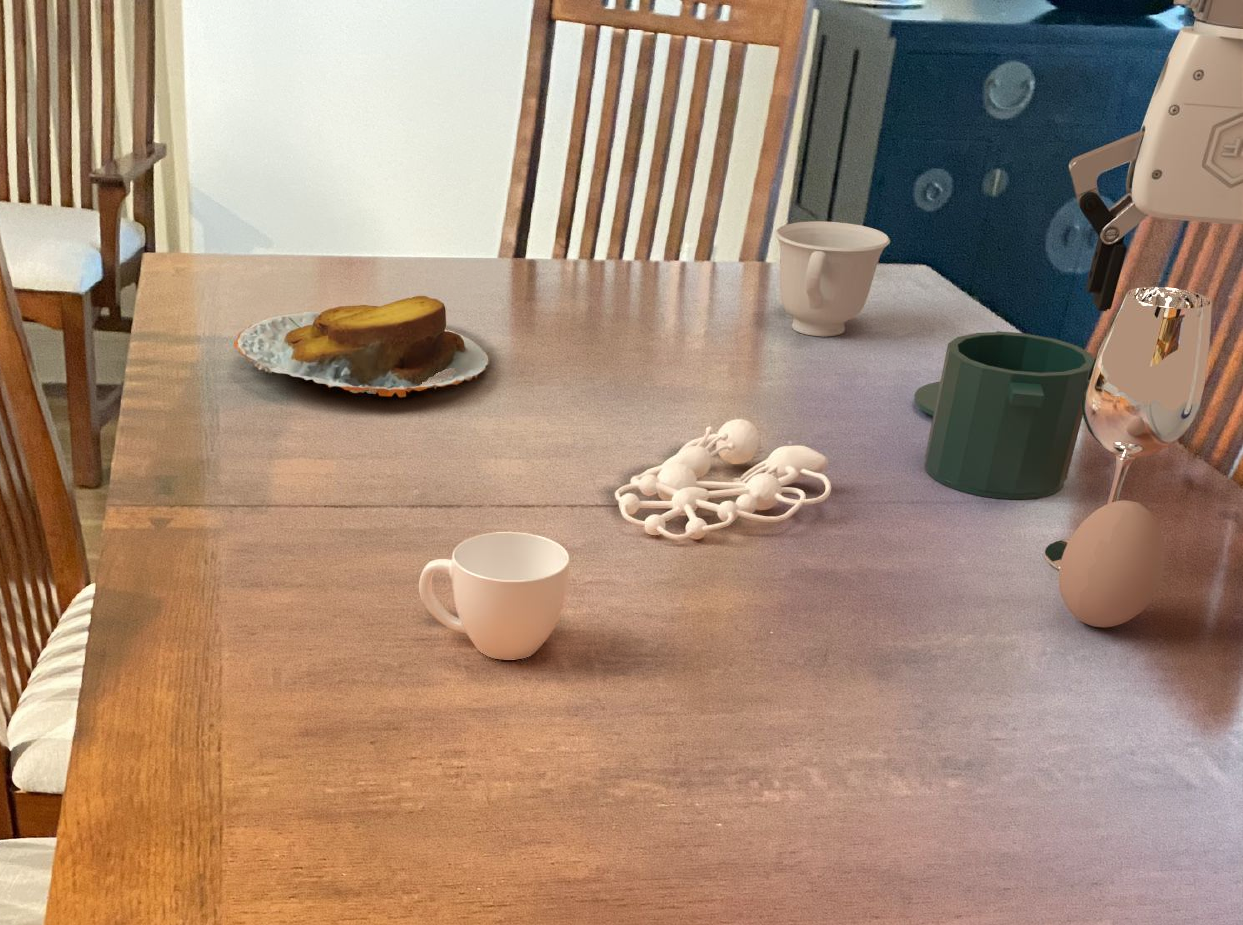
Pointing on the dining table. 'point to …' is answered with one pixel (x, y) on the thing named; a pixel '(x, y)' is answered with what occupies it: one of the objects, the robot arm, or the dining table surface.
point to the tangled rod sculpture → (756, 490)
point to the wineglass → (1146, 379)
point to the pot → (1007, 414)
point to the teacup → (826, 273)
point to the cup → (502, 591)
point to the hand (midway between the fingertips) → (1180, 312)
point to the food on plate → (365, 347)
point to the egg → (1112, 564)
